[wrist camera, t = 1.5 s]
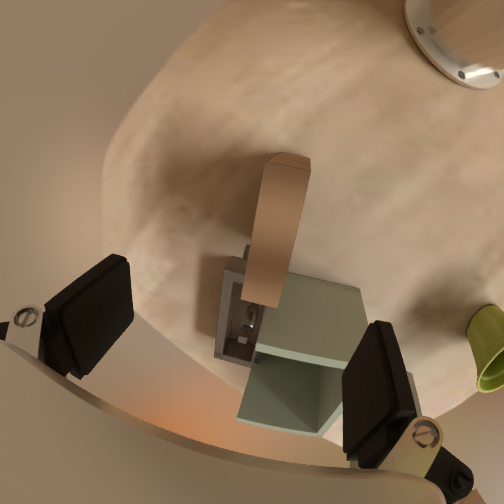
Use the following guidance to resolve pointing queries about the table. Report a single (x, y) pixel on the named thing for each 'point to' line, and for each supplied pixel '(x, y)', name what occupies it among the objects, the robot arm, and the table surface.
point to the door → (275, 227)
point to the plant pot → (488, 347)
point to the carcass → (304, 357)
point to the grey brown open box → (224, 345)
